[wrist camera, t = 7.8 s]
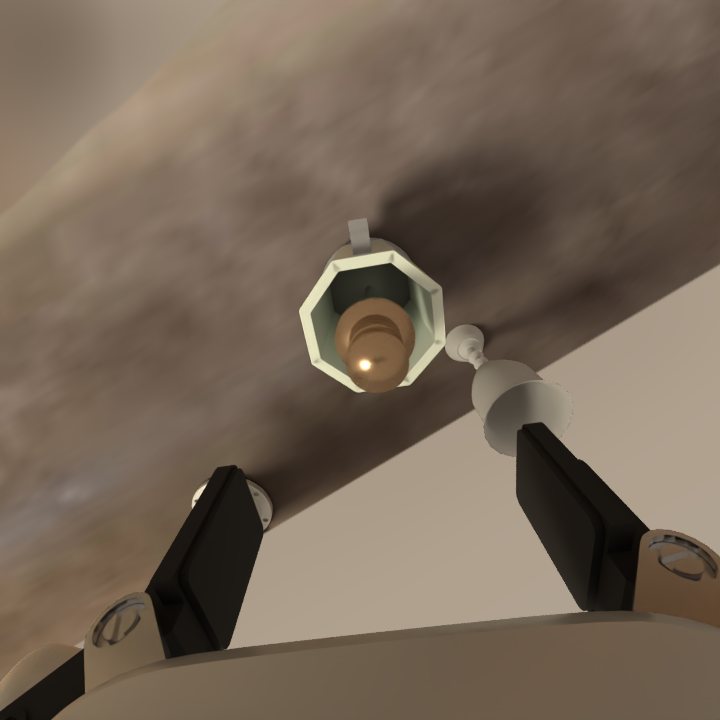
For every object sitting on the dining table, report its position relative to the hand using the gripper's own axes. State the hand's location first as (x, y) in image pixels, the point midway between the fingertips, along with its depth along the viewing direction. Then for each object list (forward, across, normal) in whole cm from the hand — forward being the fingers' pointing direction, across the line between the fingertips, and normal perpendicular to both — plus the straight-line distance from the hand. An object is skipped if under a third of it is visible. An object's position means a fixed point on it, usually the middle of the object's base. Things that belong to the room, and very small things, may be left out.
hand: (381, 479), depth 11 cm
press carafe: (+32, -1, -1) cm, 32 cm away
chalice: (+32, -12, +8) cm, 35 cm away
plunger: (+30, -1, -1) cm, 30 cm away
